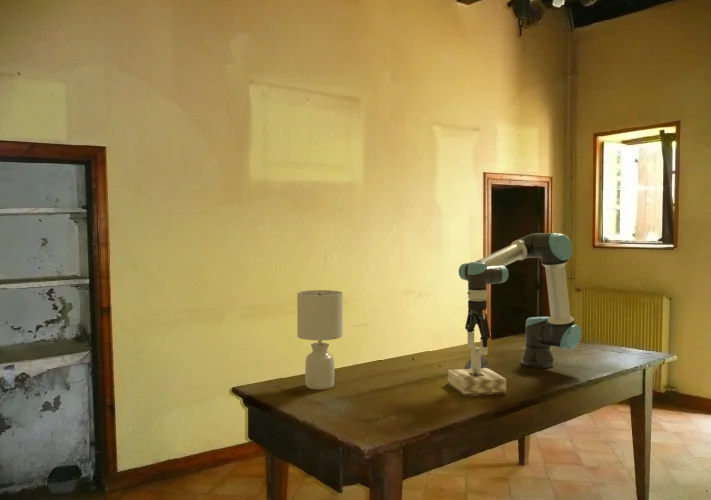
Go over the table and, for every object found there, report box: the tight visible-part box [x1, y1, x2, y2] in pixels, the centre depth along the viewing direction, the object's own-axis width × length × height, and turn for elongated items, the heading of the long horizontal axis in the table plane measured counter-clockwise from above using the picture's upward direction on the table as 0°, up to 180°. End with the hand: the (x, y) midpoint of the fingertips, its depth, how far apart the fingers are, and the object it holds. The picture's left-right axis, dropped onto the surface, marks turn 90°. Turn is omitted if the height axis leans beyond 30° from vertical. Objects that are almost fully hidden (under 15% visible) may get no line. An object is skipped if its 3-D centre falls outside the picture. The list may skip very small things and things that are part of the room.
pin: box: [470, 346, 482, 376], centre depth 237 cm, size 4×4×16 cm
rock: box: [464, 355, 491, 370], centre depth 260 cm, size 11×10×10 cm
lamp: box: [296, 289, 344, 391], centre depth 239 cm, size 19×19×39 cm
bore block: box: [447, 368, 507, 397], centre depth 237 cm, size 18×18×6 cm
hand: (477, 351), depth 237 cm, fingers open, 13 cm apart
